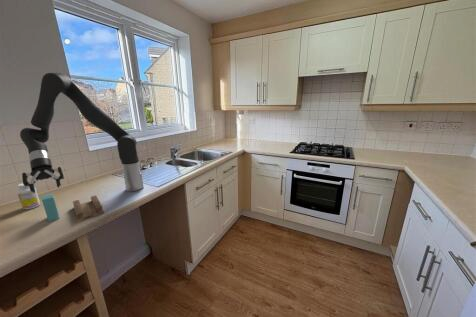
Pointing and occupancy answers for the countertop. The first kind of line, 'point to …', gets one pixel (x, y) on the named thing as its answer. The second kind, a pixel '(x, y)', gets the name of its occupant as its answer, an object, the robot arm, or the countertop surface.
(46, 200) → the teal rectangular block
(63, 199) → the countertop surface
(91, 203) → the wooden cradle
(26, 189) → the supplement bottle
